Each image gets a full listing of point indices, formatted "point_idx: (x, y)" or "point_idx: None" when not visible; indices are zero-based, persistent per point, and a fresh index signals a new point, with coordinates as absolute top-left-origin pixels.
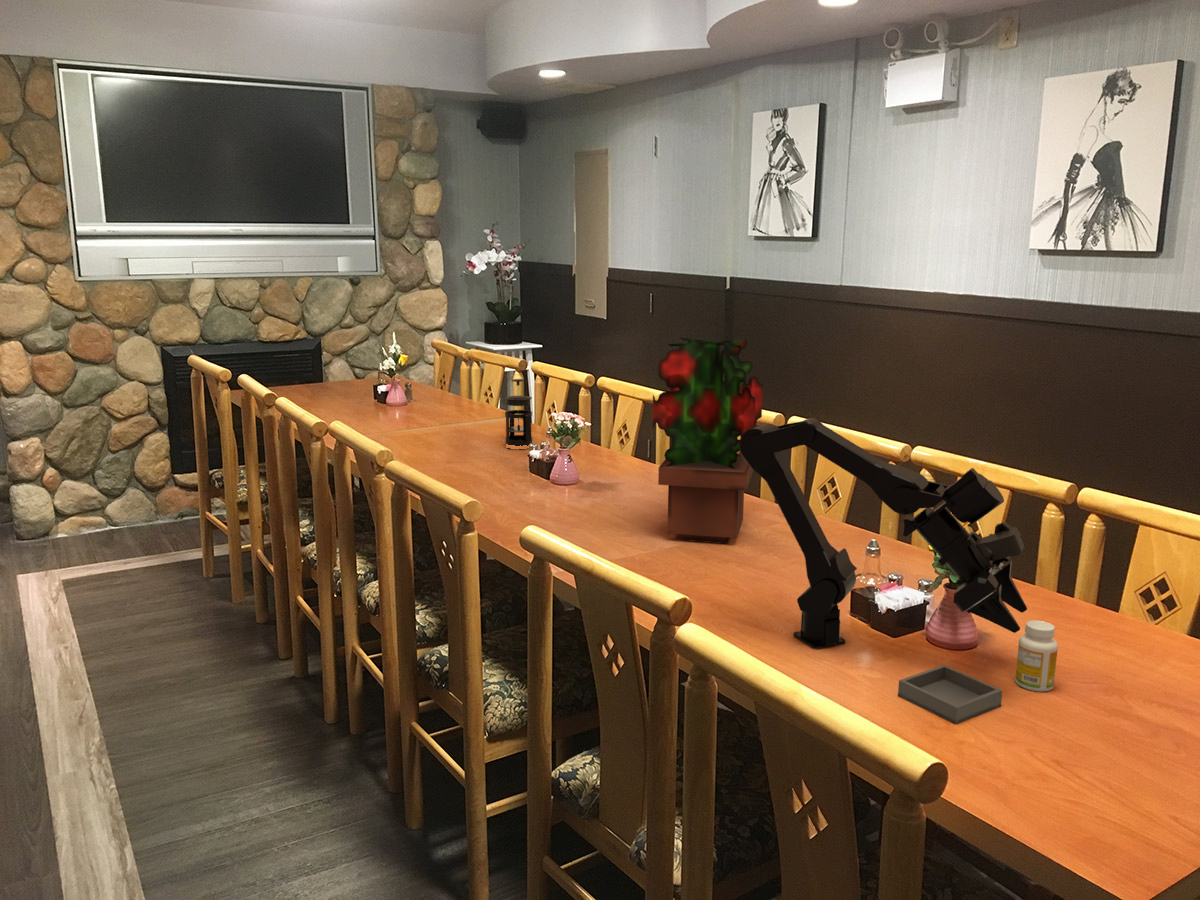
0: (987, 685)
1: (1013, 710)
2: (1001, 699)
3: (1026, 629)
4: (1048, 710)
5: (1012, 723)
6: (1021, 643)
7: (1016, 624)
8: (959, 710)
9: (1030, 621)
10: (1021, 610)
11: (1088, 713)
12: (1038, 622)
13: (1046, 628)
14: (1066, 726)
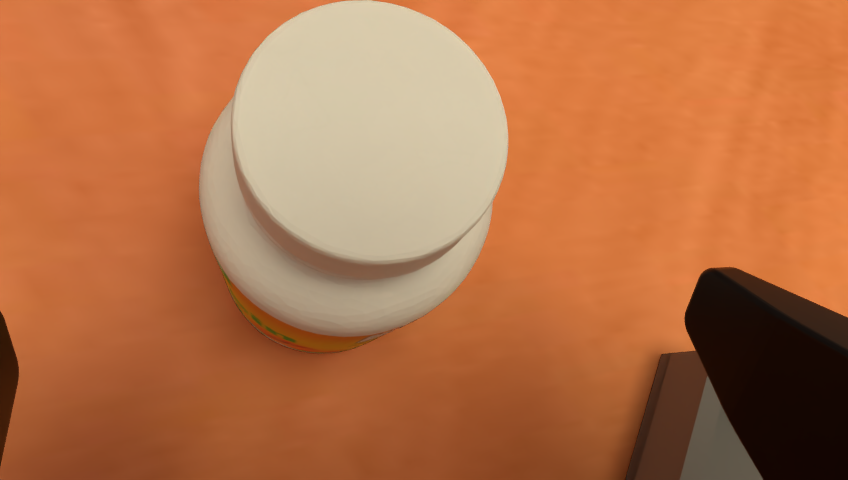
0: (713, 431)
1: (664, 296)
2: (681, 352)
3: (440, 254)
4: (571, 164)
5: (775, 279)
6: (442, 301)
7: (794, 294)
8: None
9: (323, 226)
10: (8, 377)
11: (498, 18)
12: (306, 147)
13: (439, 64)
14: (666, 91)
